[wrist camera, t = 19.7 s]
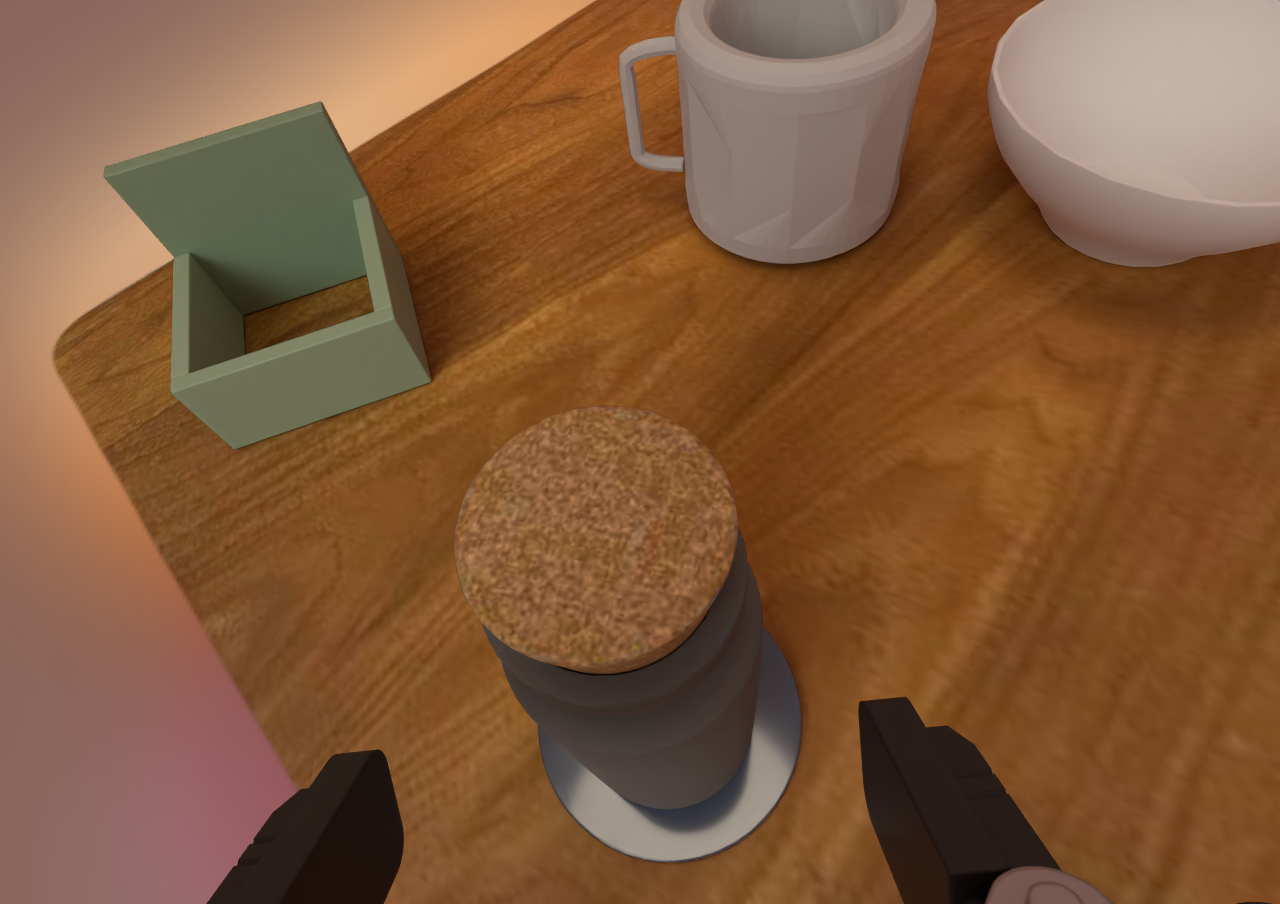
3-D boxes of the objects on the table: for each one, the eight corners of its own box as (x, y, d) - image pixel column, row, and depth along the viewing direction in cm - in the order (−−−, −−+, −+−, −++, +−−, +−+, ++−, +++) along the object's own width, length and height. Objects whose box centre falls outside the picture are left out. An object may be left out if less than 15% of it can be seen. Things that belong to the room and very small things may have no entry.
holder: (234, 450, 33) (86, 318, 26) (228, 310, 38) (103, 166, 31) (432, 382, 34) (345, 235, 27) (401, 254, 39) (321, 99, 32)
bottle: (642, 602, 27) (557, 334, 14) (784, 687, 24) (838, 462, 12) (547, 743, 24) (343, 578, 12) (696, 852, 22) (643, 792, 9)
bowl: (1151, 399, 29) (1256, 274, 23) (882, 197, 37) (910, 65, 31) (1402, 230, 32) (1552, 81, 26) (1105, 77, 40) (1168, -64, 34)
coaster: (583, 909, 22) (580, 910, 22) (514, 641, 27) (510, 637, 26) (849, 799, 23) (851, 797, 22) (736, 558, 28) (736, 551, 27)
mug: (888, 131, 40) (928, -73, 32) (900, 271, 34) (953, 68, 26) (648, 138, 42) (626, -52, 34) (624, 270, 37) (590, 82, 28)
